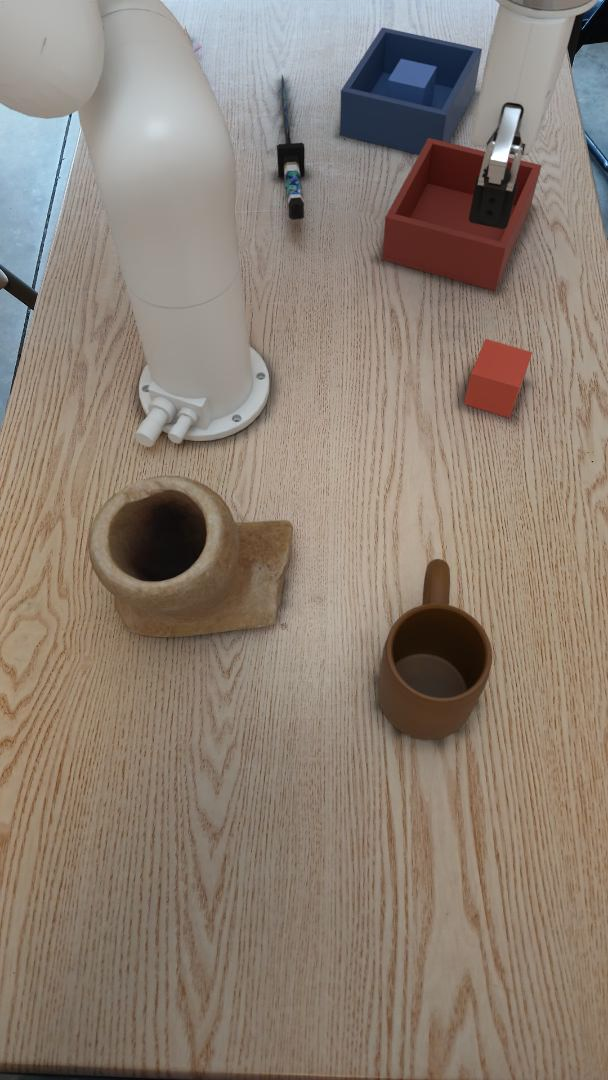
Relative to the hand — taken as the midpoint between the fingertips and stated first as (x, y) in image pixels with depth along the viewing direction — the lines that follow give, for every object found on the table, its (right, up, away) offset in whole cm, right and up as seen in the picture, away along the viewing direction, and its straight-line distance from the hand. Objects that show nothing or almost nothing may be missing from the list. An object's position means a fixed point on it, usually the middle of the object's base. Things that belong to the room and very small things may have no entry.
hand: (499, 186), depth 71 cm
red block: (+2, -16, +10) cm, 19 cm away
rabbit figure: (-33, +30, +36) cm, 57 cm away
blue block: (-4, +22, +30) cm, 38 cm away
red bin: (0, +3, +20) cm, 21 cm away
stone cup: (-25, -35, 0) cm, 43 cm away
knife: (-18, +15, +27) cm, 36 cm away
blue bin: (-4, +22, +31) cm, 38 cm away
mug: (-7, -40, -4) cm, 41 cm away
